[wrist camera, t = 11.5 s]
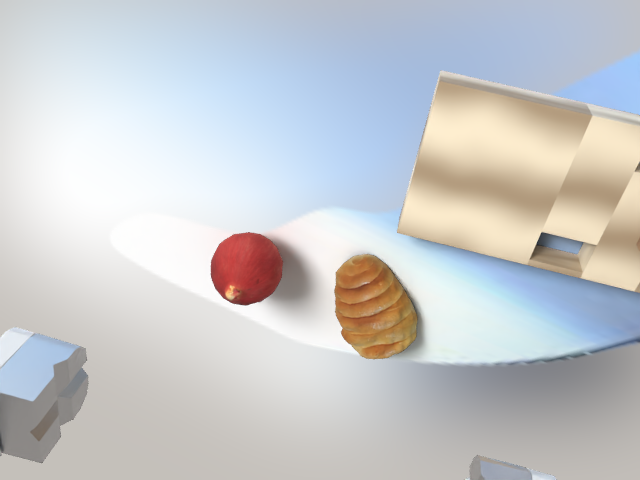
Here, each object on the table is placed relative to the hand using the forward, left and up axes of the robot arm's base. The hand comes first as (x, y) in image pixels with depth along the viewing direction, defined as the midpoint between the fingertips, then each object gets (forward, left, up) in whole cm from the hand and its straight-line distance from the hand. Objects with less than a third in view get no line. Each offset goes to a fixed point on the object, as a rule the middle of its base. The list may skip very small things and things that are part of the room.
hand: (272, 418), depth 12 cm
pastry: (+23, +3, -35) cm, 42 cm away
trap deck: (+8, +14, -34) cm, 38 cm away
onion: (+20, -8, -34) cm, 41 cm away
